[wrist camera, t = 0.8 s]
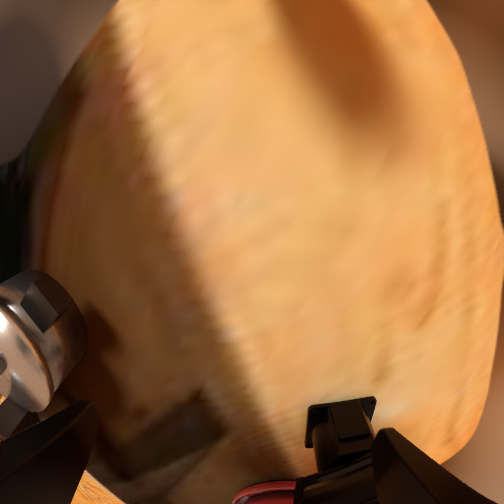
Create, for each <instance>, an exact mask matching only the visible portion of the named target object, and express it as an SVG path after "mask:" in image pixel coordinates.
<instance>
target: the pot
mask: <svg viewBox="0 0 504 504" xmlns="http://www.w3.org/2000/svg"><path fill="white" fill-rule="evenodd" d="M0 301H1V302H2V303H4V304H5V305H6V306H7V307H8V308H9V309H10V310H11V311H12V312H13V313H14V314H15V315H16V316H17V317H18V319H19V320H20V321H21V322H22V323H23V325H24V326H25V327H26V329H27V330H28V331H29V333H30V334H31V336H32V337H33V339H34V340H35V342H36V343H37V345H38V347H39V349H40V350H41V352H42V354H43V356H44V358H45V360H46V362H47V364H48V367H49V369H50V372H51V375H52V379H53V384H54V392H55V391H56V389H57V388H58V387H59V386H60V384H61V383H62V382H63V381H64V379H65V378H66V377H67V375H68V374H69V373H70V372H71V371H72V369H73V368H74V367H75V366H76V364H77V363H78V362H79V361H80V359H81V358H82V357H83V355H84V353H85V351H86V346H87V335H86V329H85V325H84V322H83V319H82V316H81V314H80V312H79V310H78V308H77V306H76V304H75V303H74V301H73V300H72V298H71V297H70V295H69V294H68V293H67V291H66V290H65V289H64V288H63V287H62V286H61V285H60V284H59V283H58V282H57V281H56V280H55V279H53V278H52V277H50V276H49V275H48V274H45V273H43V272H41V271H38V270H25V271H23V272H21V273H19V274H17V275H15V276H14V277H12V278H10V279H8V280H6V281H5V282H3V283H1V284H0ZM2 396H3V395H2V394H1V393H0V399H1V398H2Z"/></svg>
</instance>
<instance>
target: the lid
mask: <svg viewBox="0 0 504 504" xmlns="http://www.w3.org/2000/svg"><path fill="white" fill-rule="evenodd" d="M0 393H1V394H2V395H3V396H4V397H5V398H6V399H5V400H4V401H3V403H2V404H1V405H0V441H4V440H5V439H7V438H9V437H11V436H13V435H15V434H17V433H19V432H21V431H23V430H25V429H27V428H29V427H31V426H33V425H35V424H37V423H39V422H41V421H40V419H39V417H38V415H37V413H36V412H41V411H43V410H44V409H45V408H46V407H47V405H48V404H49V403H50V401H51V400H52V398H53V395H54V384H53V379H52V375H51V372H50V369H49V367H48V364H47V362H46V360H45V358H44V356H43V354H42V352H41V350H40V349H39V347H38V345H37V343H36V342H35V340H34V339H33V337H32V336H31V334H30V333H29V331H28V330H27V329H26V327H25V326H24V325H23V323H22V322H21V321H20V320H19V319H18V317H17V316H16V315H15V314H14V313H13V312H12V311H11V310H10V309H9V308H8V307H7V306H6V305H5V304H4V303H2V302H1V301H0Z"/></svg>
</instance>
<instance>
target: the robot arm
mask: <svg viewBox="0 0 504 504" xmlns="http://www.w3.org/2000/svg"><path fill="white" fill-rule="evenodd" d="M376 402H377V400H376V398H375V397H374V396H371V397H365V398H360V399H354V400H347V401H341V402H334V403H326V404H318V405H311V406H310V407H309V408H308V412H307V423H306V434H305V447H306V448H314V453H315V459H316V464H317V470H318V473H315V474H312V475H309V476H306V477H299V478H297V479H296V486H295V492H294V501H293V504H497V503H495V502H494V501H492V500H490V499H488V498H486V497H484V496H483V495H481V494H480V493H478V492H477V491H475V490H474V489H472V488H471V487H469V486H468V485H466V484H465V483H462V481H461V480H459V479H458V478H457V477H455V476H454V475H452V474H451V473H450V472H449V471H447V470H446V469H445V468H443V467H442V466H441V465H439V464H438V463H437V462H436V461H434V460H433V459H432V458H430V457H429V456H428V455H426V454H425V453H424V452H423V451H421V450H420V449H419V448H418V447H416V446H415V445H414V444H412V443H411V442H410V441H409V440H407V439H406V438H405V437H404V436H402V435H401V434H400V433H399V432H398V431H396V430H395V429H394V428H391V427H389V428H382V429H380V430H379V431H378V433H377V435H375V433H374V430H373V428H372V425H371V419H372V416H373V413H374V409H375V405H376ZM99 426H100V418H99V415H98V412H97V409H96V406H95V404H94V403H93V402H91V401H88V400H84V399H83V400H80V401H78V402H76V403H74V404H73V405H71V406H69V407H67V408H65V409H63V410H61V411H60V412H58V413H56V414H54V415H52V416H50V417H48V418H46V419H44V420H42V421H41V422H39V423H37V424H35V425H33V426H31V427H29V428H27V429H25V430H23V431H21V432H19V433H17V434H15V435H13V436H11V437H9V438H7V439H5V440H4V441H0V504H71V501H72V499H73V496H74V494H75V491H76V489H77V487H78V484H79V482H80V480H81V477H82V475H83V473H84V470H85V468H86V466H87V463H88V461H89V458H90V455H91V452H92V448H93V445H94V442H95V438H96V435H97V432H98V429H99Z"/></svg>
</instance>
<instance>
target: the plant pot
mask: <svg viewBox="0 0 504 504" xmlns="http://www.w3.org/2000/svg"><path fill="white" fill-rule="evenodd" d="M295 486H296V482H295V481H274V482H270V481H266V482H264V483H261V484H257V485H253V486H250V487H247V488H245V489H243V490H242V491H240V492H239V493H237V494H236V495H235V497H234V498H233V502H232V504H293V501H294V492H295Z"/></svg>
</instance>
